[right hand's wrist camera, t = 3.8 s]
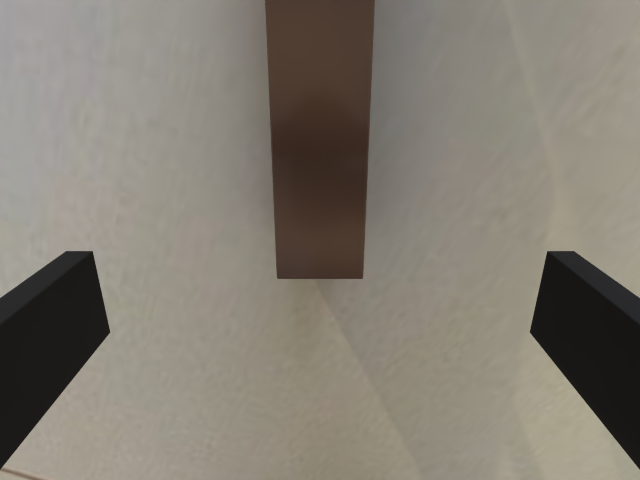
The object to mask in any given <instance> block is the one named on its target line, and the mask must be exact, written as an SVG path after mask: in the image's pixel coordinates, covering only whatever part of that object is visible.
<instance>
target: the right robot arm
mask: <svg viewBox="0 0 640 480" xmlns="http://www.w3.org/2000/svg"><path fill="white" fill-rule="evenodd" d="M109 333H110V329H109V325H108V320H107V315H106V311H105V306H104V302H103V297H102V292H101V288H100V283H99V279H98V274H97V269H96V265H95V260H94V255H93V251H66V252H64V253H63V254H62V255H60V256H59V257H57V258H56V259H55V260H53V261H52V262H50V263H49V264H48V265H46V266H45V267H43V268H42V269H41V270H39V271H38V272H36V273H35V274H33V275H32V276H31V277H29V278H28V279H26V280H25V281H24V282H22V283H21V284H19V285H18V286H17V287H15V288H14V289H12V290H11V291H10V292H8V293H7V294H5V295H4V296H3V297H1V298H0V469H1V468H2V467H3V465H4V464H5V463H6V462H7V460H8V459H9V458H10V457H11V455H12V454H13V453H14V452H15V450H16V449H17V448H18V447H19V445H20V444H21V443H22V442H23V440H24V439H25V438H26V437H27V435H28V434H29V433H30V432H31V430H32V429H33V428H34V427H35V425H36V424H37V423H38V422H39V420H40V419H41V418H42V417H43V415H44V414H45V413H46V412H47V410H48V409H49V408H50V407H51V405H52V404H53V403H54V402H55V400H56V399H57V398H58V397H59V396H60V394H61V393H62V392H63V391H64V389H65V388H66V387H67V386H68V384H69V383H70V382H71V381H72V379H73V378H74V377H75V376H76V374H77V373H78V372H79V371H80V369H81V368H82V367H83V366H84V364H85V363H86V362H87V361H88V359H89V358H90V357H91V356H92V354H93V353H94V352H95V351H96V349H97V348H98V347H99V346H100V344H101V343H102V342H103V341H104V339H105V338H106V337H107V336H108V334H109ZM530 333H531V334H532V336H533V337H534V338H535V339H536V341H537V342H538V343H539V344H540V346H541V347H542V348H543V349H544V351H545V352H546V353H547V354H548V356H549V357H550V358H551V359H552V361H553V362H554V363H555V364H556V366H557V367H558V368H559V369H560V371H561V372H562V373H563V374H564V376H565V377H566V378H567V379H568V381H569V382H570V383H571V384H572V386H573V387H574V388H575V389H576V391H577V392H578V393H579V394H580V396H581V397H582V398H583V399H584V400H585V402H586V403H587V404H588V405H589V407H590V408H591V409H592V410H593V412H594V413H595V414H596V415H597V417H598V418H599V419H600V420H601V422H602V423H603V424H604V425H605V427H606V428H607V429H608V430H609V432H610V433H611V434H612V435H613V437H614V438H615V439H616V440H617V442H618V443H619V444H620V445H621V447H622V448H623V449H624V450H625V452H626V453H627V454H628V455H629V457H630V458H631V459H632V460H633V462H634V463H635V464H636V465H637V467H638V468H639V469H640V298H639V297H637V296H636V295H635V294H633V293H632V292H630V291H629V290H628V289H626V288H625V287H623V286H622V285H621V284H619V283H618V282H616V281H615V280H614V279H612V278H611V277H609V276H608V275H607V274H605V273H604V272H602V271H601V270H599V269H598V268H597V267H595V266H594V265H592V264H591V263H590V262H588V261H587V260H585V259H584V258H583V257H581V256H580V255H578V254H577V253H576V252H574V251H547V255H546V260H545V265H544V269H543V274H542V279H541V283H540V288H539V292H538V297H537V302H536V306H535V311H534V315H533V320H532V325H531V329H530Z"/></svg>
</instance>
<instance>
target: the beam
mask: <svg viewBox="0 0 640 480" xmlns="http://www.w3.org/2000/svg"><path fill="white" fill-rule="evenodd" d="M265 5H266V29H267V53H268V77H269V100H270V124H271V148H272V172H273V196H274V219H275V243H276V267H277V278H278V279H362V278H363V268H364V244H365V221H366V197H367V173H368V149H369V126H370V102H371V78H372V54H373V31H374V7H375V0H265Z"/></svg>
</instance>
